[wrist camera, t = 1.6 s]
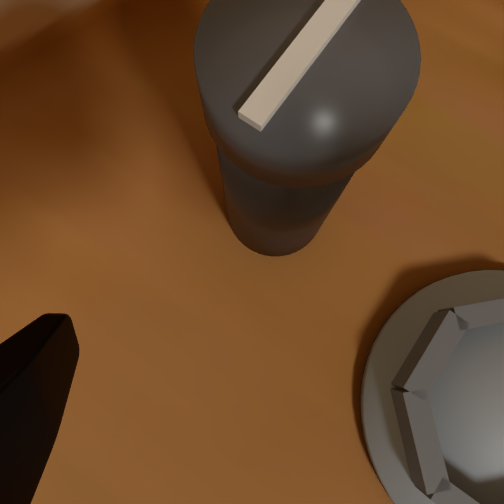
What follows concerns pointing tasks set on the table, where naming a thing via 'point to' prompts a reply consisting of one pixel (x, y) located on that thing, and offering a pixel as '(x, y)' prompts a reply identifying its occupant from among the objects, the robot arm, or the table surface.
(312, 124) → the knob
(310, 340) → the table surface
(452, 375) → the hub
